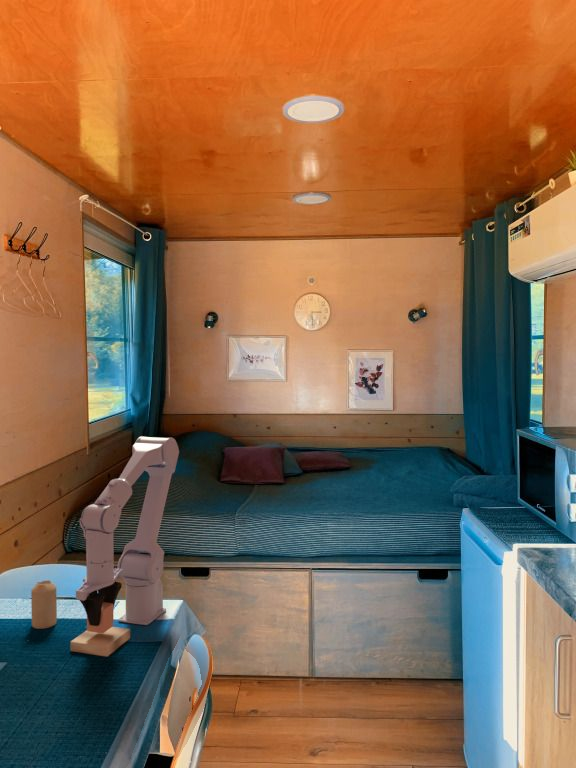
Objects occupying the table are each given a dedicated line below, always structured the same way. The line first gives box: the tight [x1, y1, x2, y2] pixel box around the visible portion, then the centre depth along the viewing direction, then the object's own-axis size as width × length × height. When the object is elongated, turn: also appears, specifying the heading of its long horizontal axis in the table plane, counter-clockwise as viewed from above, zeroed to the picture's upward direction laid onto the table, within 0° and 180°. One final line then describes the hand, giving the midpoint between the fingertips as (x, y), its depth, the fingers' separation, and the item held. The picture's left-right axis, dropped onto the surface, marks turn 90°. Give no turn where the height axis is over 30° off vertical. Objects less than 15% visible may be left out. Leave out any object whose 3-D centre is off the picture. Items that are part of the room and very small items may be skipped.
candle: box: [30, 580, 58, 630], centre depth 143 cm, size 6×6×10 cm
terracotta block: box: [86, 602, 115, 633], centre depth 132 cm, size 4×4×5 cm
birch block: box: [70, 626, 131, 657], centre depth 132 cm, size 9×9×2 cm
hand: (100, 620), depth 132 cm, fingers closed on terracotta block, 4 cm apart
